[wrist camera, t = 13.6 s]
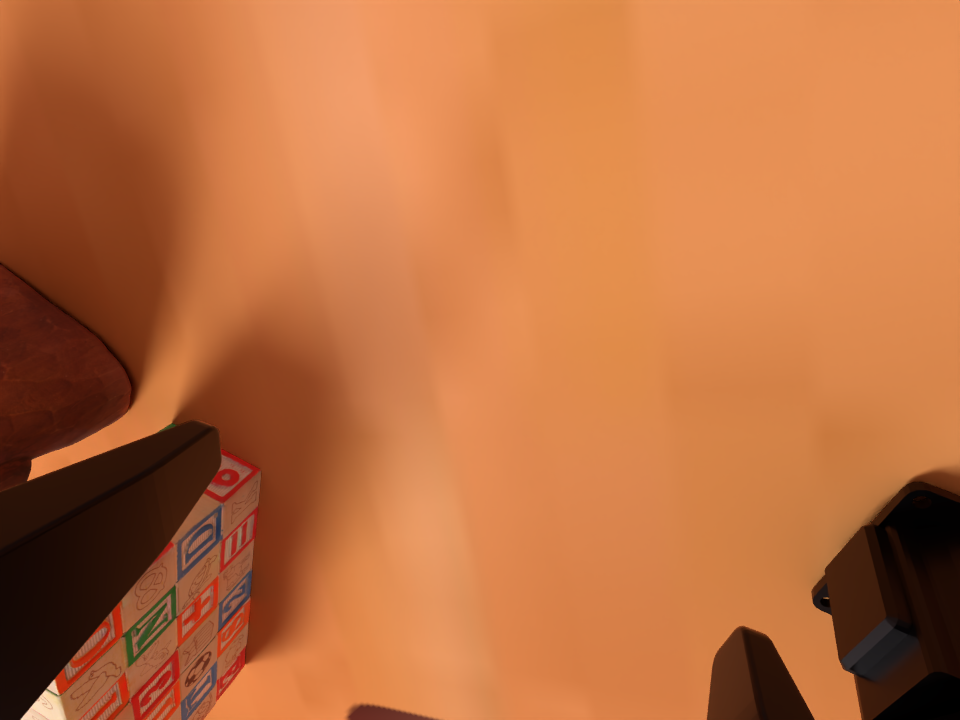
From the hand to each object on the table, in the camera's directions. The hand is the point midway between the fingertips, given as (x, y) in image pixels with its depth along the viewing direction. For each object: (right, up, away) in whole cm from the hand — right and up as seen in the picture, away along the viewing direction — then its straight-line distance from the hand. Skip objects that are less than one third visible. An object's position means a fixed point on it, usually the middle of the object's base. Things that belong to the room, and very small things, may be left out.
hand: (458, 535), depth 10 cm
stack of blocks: (-17, -10, +29) cm, 35 cm away
